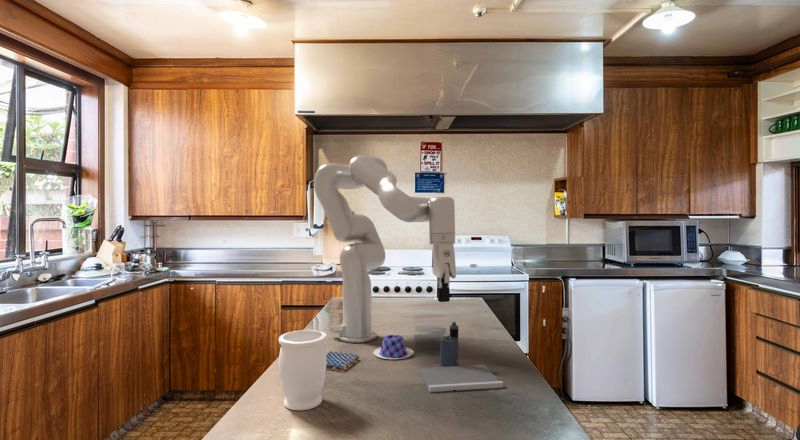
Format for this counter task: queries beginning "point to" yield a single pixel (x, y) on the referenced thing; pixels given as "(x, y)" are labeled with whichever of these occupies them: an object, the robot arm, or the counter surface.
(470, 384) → the grey flat slab
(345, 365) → the woven mat
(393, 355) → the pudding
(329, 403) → the counter surface
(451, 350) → the vaping device
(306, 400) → the jar
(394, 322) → the counter surface
